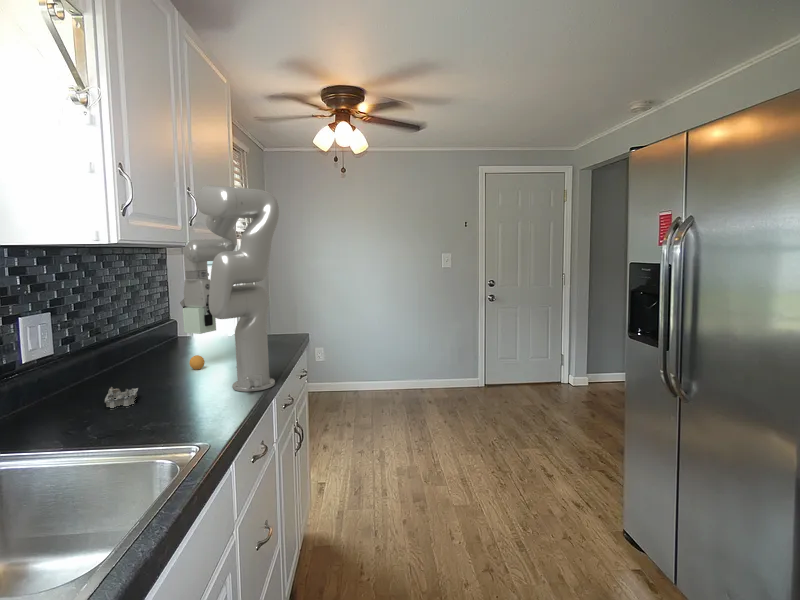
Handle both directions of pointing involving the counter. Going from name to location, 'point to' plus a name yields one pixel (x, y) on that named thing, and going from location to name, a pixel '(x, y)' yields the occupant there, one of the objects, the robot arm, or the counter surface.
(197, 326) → the pale green cube
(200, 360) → the ball
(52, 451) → the counter surface
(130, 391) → the egg carton
